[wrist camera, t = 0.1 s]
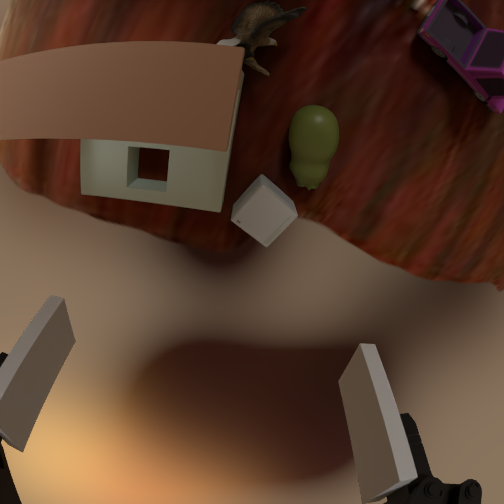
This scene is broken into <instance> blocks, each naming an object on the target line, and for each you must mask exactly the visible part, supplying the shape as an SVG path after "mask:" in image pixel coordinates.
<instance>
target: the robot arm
mask: <svg viewBox="0 0 504 504" xmlns="http://www.w3.org/2000/svg"><path fill="white" fill-rule="evenodd" d="M74 343H75V338H74V335H73V331H72V328H71V324H70V321H69V317H68V312H67V309H66V304H65V300H64V298H60V297H57V296H53V295H50V297H49V298H48V299H47V301H46V302H45V303H44V304H43V306H42V307H41V309H40V310H39V311H38V313H37V314H36V316H35V317H34V318H33V320H32V321H31V322H30V324H29V325H28V327H27V328H26V329H25V331H24V332H23V334H22V335H21V337H20V338H19V340H18V341H17V343H16V344H15V346H14V347H13V349H12V350H11V352H10V353H9V355H8V354H6V353H3V352H2V353H1V354H0V504H22V503H21V501H20V498H19V496H18V493H17V491H16V488H15V485H14V482H13V479H12V476H11V473H10V470H9V467H8V464H7V460H6V457H5V453H4V449H3V447H2V445H1V441H2V439H3V440H4V441H5V442H6V443H7V444H8V445H10V446H12V447H13V448H15V449H17V450H19V451H21V452H23V451H24V448H25V445H26V443H27V441H28V438H29V436H30V434H31V431H32V429H33V427H34V424H35V422H36V420H37V417H38V415H39V413H40V410H41V409H42V406H43V404H44V402H45V400H46V398H47V396H48V394H49V392H50V389H51V387H52V385H53V383H54V381H55V379H56V377H57V375H58V373H59V371H60V370H61V368H62V366H63V364H64V362H65V360H66V358H67V356H68V354H69V352H70V350H71V348H72V347H73V345H74ZM339 386H340V390H341V395H342V400H343V404H344V409H345V414H346V418H347V423H348V428H349V433H350V438H351V443H352V448H353V454H354V459H355V465H356V470H357V475H358V482H359V487H360V493H361V500H362V504H365V503H370V502H376V501H380V500H381V499H383V498H385V497H387V502H386V503H384V504H481V497H482V489H481V486H480V484H479V483H478V482H477V481H476V480H473V479H468V480H466V481H464V482H463V483H461V484H444V483H442V482H441V481H440V480H439V479H438V478H435V477H433V475H432V473H431V471H430V467H429V464H428V460H427V457H426V454H425V451H424V447H423V444H422V443H421V438H420V435H419V432H418V429H417V426H416V423H415V421H414V420H413V419H412V417H411V416H410V415H409V413H405V414H399V411H398V408H397V406H396V403H395V399H394V396H393V393H392V391H391V388H390V385H389V382H388V379H387V376H386V373H385V371H384V368H383V365H382V362H381V360H380V357H379V354H378V352H377V349H376V346H375V344H359V346H358V348H357V350H356V352H355V354H354V355H353V357H352V359H351V361H350V362H349V364H348V366H347V368H346V369H345V371H344V373H343V375H342V376H341V378H340V380H339Z"/></svg>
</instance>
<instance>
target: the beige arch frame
mask: <svg viewBox="0 0 504 504" xmlns="http://www.w3.org/2000/svg"><path fill="white" fill-rule="evenodd" d="M244 53H245V49H244V48H243V47H236V46H227V45H218V44H207V43H193V42H171V41H134V42H112V43H99V44H89V45H80V46H72V47H65V48H58V49H52V50H46V51H41V52H36V53H31V54H26V55H22V56H18V57H13V58H9V59H6V60H2V61H0V140H3V139H41V138H57V139H96V140H115V141H130V142H143V143H155V144H165V145H175V146H184V147H192V148H200V149H208V150H215V151H222V152H226V151H227V149H228V145H229V139H230V133H231V126H232V120H233V114H234V109H235V103H236V97H237V91H238V90H240V86H241V81H242V75H243V71H242V64H243V59H244Z"/></svg>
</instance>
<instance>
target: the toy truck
mask: <svg viewBox="0 0 504 504" xmlns="http://www.w3.org/2000/svg"><path fill="white" fill-rule="evenodd" d="M416 34H417V35H419V36H420V37H421V38H422V39H423V40H424V41H425V42H427V43H428V44H429V45H431V46H430V47H431V50H432V51H433V52H434V53H435V54H437V55H438V56H440V57H442V58H447V57H448V58H447V60H446V62H447V63H448V64H449V65H450V66H451V67H452V68H453V69H454V70H455V71H456V72H457V73H458V74H459V75H460V76H461V77H462V78H463V79H464V80H465V82H466V83H467V84H468V85H469V86H470V87H471V88H472V90H473V93H474V95H475V96H476V97H477V98H478V99H479V100H481V101H483V102H487V103H486V106H487V108H488V109H489V110H490V111H492V112H496V113H500V114H501V112H502V110H503V108H504V31H503V30H496V29H489V28H486V27H485V25H484V24H483V23H482V22H481V21H480V20H479V19H478V18H477V17H476V16H475V14H474V13H473V12H472V11H471V10H470V9H469V8H468V7H467V6H466V5H465V4H464V3H463V2H462V1H461V0H437V1H436V2H435V4H434V6H433V7H432V9H431V10H430V12H429V14H428V15H427V17H426V18H425V20H424V22H423V23H422V25H421V26H420V28H419V30H418V31H417V33H416Z"/></svg>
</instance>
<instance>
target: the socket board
mask: <svg viewBox="0 0 504 504" xmlns="http://www.w3.org/2000/svg"><path fill="white" fill-rule="evenodd" d="M243 79H244V73H243V75H242V81H241V86H240V90H238V91H237V97H236V103H235V109H234V114H233V120H232V126H231V133H230V139H229V145H228V149H227V151H226V152H222V151H215V150H208V149H200V148H192V147H184V146H175V145H165V144H155V143H143V142H130V141H115V140H96V139H81V157H80V168H81V194H85V195H94V196H102V197H110V198H119V199H127V200H135V201H142V202H150V203H157V204H165V205H172V206H179V207H186V208H193V209H200V210H207V211H214V212H221V208H222V205H223V201H224V194H225V188H226V181H227V174H228V168H229V162H230V155H231V149H232V143H233V137H234V131H235V125H236V119H237V113H238V107H239V101H240V96H241V90H242V85H243ZM140 147H144V148H155V149H165V150H170V154H169V165H168V177H167V181H159V180H150V179H141V178H138V166H139V150H140Z"/></svg>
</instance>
